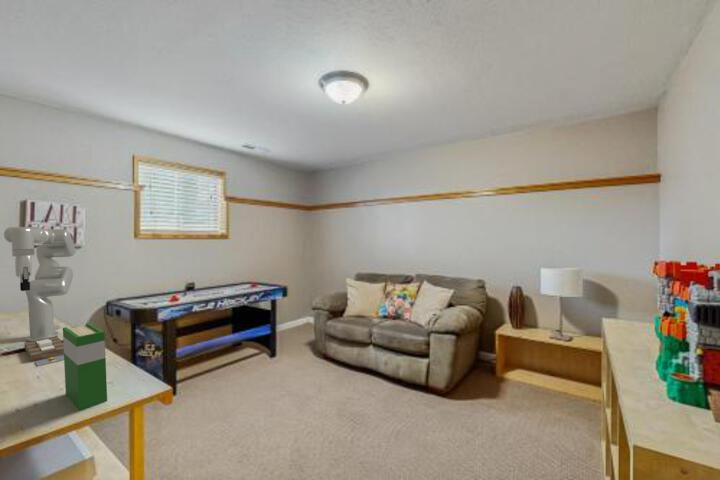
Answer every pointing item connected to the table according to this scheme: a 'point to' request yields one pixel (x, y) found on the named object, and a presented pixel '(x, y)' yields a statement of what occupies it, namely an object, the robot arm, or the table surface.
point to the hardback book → (85, 365)
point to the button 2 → (47, 348)
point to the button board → (37, 354)
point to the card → (49, 360)
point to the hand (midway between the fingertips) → (25, 290)
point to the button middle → (44, 343)
